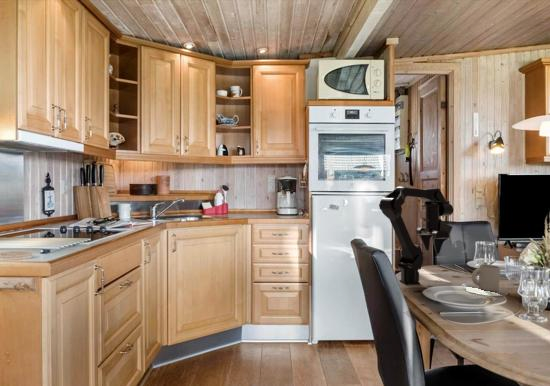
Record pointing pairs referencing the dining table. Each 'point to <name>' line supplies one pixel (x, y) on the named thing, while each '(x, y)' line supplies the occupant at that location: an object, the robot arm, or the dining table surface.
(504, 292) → the saucer
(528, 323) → the dining table surface
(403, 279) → the robot arm
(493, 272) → the cup
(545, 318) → the dining table surface
